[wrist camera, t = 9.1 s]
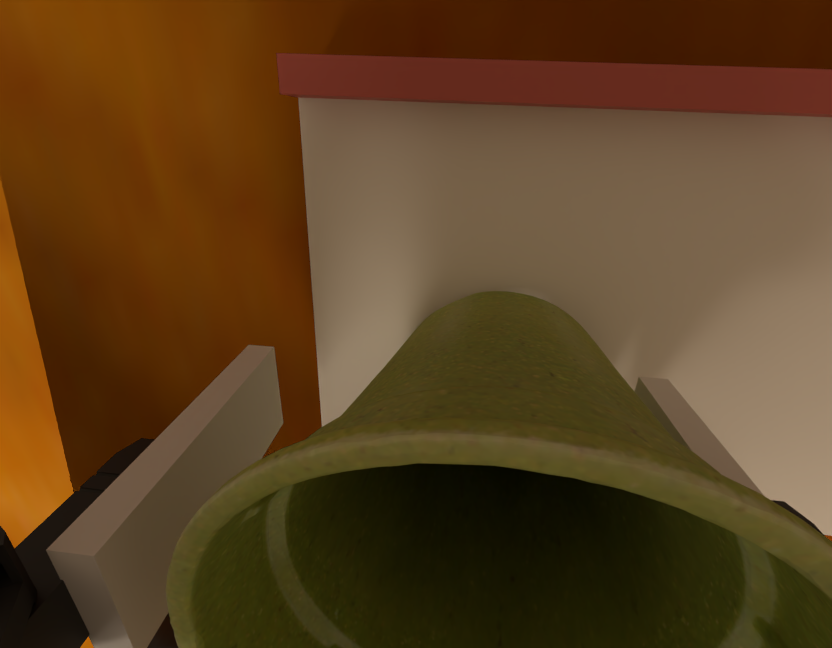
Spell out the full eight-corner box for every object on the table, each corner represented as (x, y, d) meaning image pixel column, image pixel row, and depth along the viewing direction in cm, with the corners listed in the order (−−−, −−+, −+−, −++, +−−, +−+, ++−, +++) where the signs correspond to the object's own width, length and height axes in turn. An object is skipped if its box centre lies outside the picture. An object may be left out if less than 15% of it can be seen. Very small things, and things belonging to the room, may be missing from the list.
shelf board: (336, 454, 18) (315, 506, 15) (315, 68, 12) (276, 52, 9) (928, 514, 16) (1011, 584, 14) (1253, 98, 10) (1505, 89, 8)
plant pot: (731, 278, 11) (1306, 656, 3) (593, 524, 15) (683, 949, 7) (381, 195, 12) (126, 320, 4) (344, 449, 16) (184, 752, 8)
